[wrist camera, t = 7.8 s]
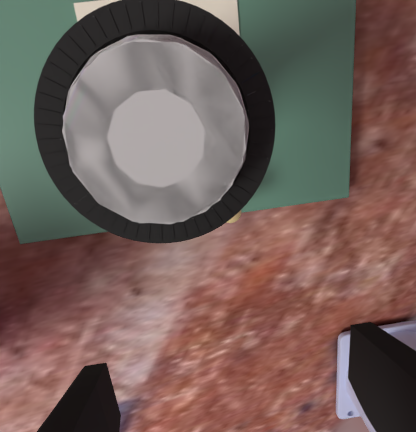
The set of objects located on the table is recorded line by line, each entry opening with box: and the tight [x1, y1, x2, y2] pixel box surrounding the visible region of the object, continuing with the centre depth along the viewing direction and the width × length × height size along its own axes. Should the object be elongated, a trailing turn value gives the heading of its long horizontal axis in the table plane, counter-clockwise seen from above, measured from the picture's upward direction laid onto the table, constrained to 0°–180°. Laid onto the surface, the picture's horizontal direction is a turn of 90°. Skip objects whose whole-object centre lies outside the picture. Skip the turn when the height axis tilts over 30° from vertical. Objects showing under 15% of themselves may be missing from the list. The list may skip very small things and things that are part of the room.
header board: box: [0, 0, 356, 244], centre depth 15 cm, size 18×14×4 cm
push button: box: [34, 0, 276, 243], centre depth 11 cm, size 7×5×10 cm
